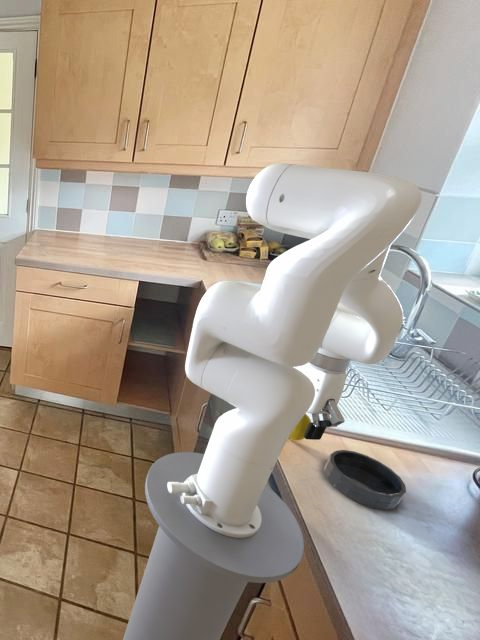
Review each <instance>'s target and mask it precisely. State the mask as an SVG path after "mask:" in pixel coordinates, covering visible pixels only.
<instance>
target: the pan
mask: <svg viewBox="0 0 480 640" xmlns="http://www.w3.org/2000/svg"><path fill="white" fill-rule="evenodd" d="M323 473H324V476H325V477H326V479H327V481H328V482H329V484H331V486H333V488H335V489H336V490H337V491H338V492H339V493H341V494H343V495H344V496H345V497H347V498H349V499H350V500H352V501H354V502H356V503H358V504H361V505H362V506H365V507H368V508H371V509H375V510H381V511H388V510H392V509H395V508H397V506H398V505H399V503H400V502H401V501H402V499H403V498H404V496H405V495H406V493H407V488H406V487H407V486H406V484H405V482H404V481H403V479H402V478H401V476H399V475H398V474H397V473H396V472H395V471H394V470H392V468H390V467H388V466H387V465H385V464H384V463H383V462H381V461H379V460H377V459H375V458H373V457H371V456H369V455H367V454H364V453H361V452H357V451H354V450H348V449H339V450H333V452H332V453H330V455H329V456H328V458H327V460H326V462H325V464H324V467H323Z"/></svg>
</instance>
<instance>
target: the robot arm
mask: <svg viewBox="0 0 480 640" xmlns="http://www.w3.org/2000/svg"><path fill="white" fill-rule="evenodd" d="M422 195H423V194H422V191H421V189H420V188H419V187H418V186H417V185H416V184H414V183H412V182H411V181H408V180H406V179H403V178H399V177H397V176H393V175H388V174H382V173H376V172H369V171H361V170H354V169H345V168H344V169H343V168H331V167H322V166H314V165H305V164H295V163H280V162H279V163H273V164H271V165H270V164H269V165H268V166H266V167H264V168H263V169H261V171H259V172H258V173H257V174H256V175H255V176H254V178H253V180H252V181H251V183H250V185H249V186H248V189H247V192H246V197H245V208H246V211H247V214H248V216H249V217H250V218H251V220H252V221H254V222H255V223H257V224H259V225H260V226H261V225H262V226H263V227H265V228H267V229H269V230H271V231H274V232H277V233H280V234H281V233H282V234H286V235H290V236H294V237H297V238H298V237H299V238H303V239H307V240H306V241H304V242H302V243H299V244H297V245H295V246H294V247H291V248H290V249H288V250H286V251H284V252H283V253H281V254H280V255H278V256H277V257H275V258H273V260H272V261H271V262H270V263H269V265H268V266H267V268H266V271H265V275H264V278H263V281H262V284H261V287H257V286H253V285H251V284H247V283H244V282H240V281H236V280H221V281H217V282H216V283H214V284H213V285H212V286H210V287H209V288H208V289H207V290H206V291H205V293H204V294H203V296H202V297H201V299H200V301H199V303H198V306H197V308H196V311H195V315H194V318H193V323H192V328H191V333H190V337H189V343H188V347H187V353H186V359H185V363H184V371H185V375H186V377H187V379H188V380H189V381H190V382H191V383H193V384H194V385H196V386H197V387H199V388H201V389H202V390H204V391H206V392H208V393H209V394H211V395H213V396H215V397H217V398H218V399H221V400H223V401H225V402H226V403H228V404H229V405H232V406H233V407H235V408H233V409H231V410H228V411H226V412H224V413H223V414H222V415H220V416H219V417H218V418H217V419H216V420H215V421H216V422H215V423H214V426H213V428H212V431H211V435H210V437H209V440H208V443H207V446H206V448H205V452H204V453H203V454H204V457H203V460H202V463H201V466H200V469H199V471H198V474H195V475H191V476H190V477H189V478H187V479H186V481H184V483H179V482H168V483H167V488H168V491H169V492H170V493H182V495H183V496H182V495H181V497H180V499H181V503H182V504H186V506H187V507H188V509H189V510H190V511H191V513H192V514H193V515H194V516H195V517H196V518H197V519H198V520H199V521H200V522H202V523H203V524H204V525H206V526H207V527H209V528H210V529H212V530H214V531H216V532H218V533H220V534H223V535H226V536H230V537H235V538H246V537H250V536H252V535H254V534H255V533H256V532H257V531H258V530H259V528H260V526H261V522H262V519H261V513H260V510H259V508H258V506H257V503H258V501H259V499H260V497H261V495H262V492H263V490H264V488H265V486H266V485H268V484H267V483H268V482H269V479H270V477H271V475H272V473H273V471H274V468H275V466H276V464H277V462H278V460H279V458H280V455H281V453H282V451H283V449H284V447H285V445H286V443H287V441H288V440H289V439H288V437H289V436H290V434H291V432H292V431H293V429H294V428H295V427H296V425H297V424H298V423H299V421H300V420H301V419H302V417H303V416H304V415H305V414H306V413H308V414H311V418H312V419H311V420H312V422H311V423H309V425H308V428H307V430H306V432H305V434H304V439H305V440H313V441H314V440H315V441H320V440H321V439H322V438H323V435H324V433H325V431H326V429H327V428H337V427H338V426H340V425H341V424H343V423H345V417H344V415H343V414H342V413H341V410H340V409H339V407H338V404H339V402H340V400H341V397H342V394H343V392H344V389H345V385H346V380H347V374H348V373H347V370H348V369H349V366H350V365H351V362H352V361H353V362H355V363H356V362H357V363H359V364H364V365H376V364H378V363H381V362H382V361H384V360H385V359H386V358H387V357H388V356H389V355H390V354H391V351H392V350H393V349H394V346H395V343H396V342H397V339H398V337H399V335H400V332H401V329H402V327H403V323H404V317H405V316H404V309H403V306H402V304H401V302H400V300H399V298H398V297H397V294H395V292H394V290H393V289H392V288H391V286H390V285H389V284H388V283H387V282H386V281H385V279H383V277H381V274H382V272H383V269H384V266H385V263H386V260H387V257H388V254H389V252H390V248H391V246H392V244H393V243H394V242H395V241H397V239H398V238H399V236H401V234H402V233H403V232H404V231H405V230H406V228H407V227H408V226H409V225H410V223H411V222H412V220H414V218H415V216H416V215H417V212H418V210H419V208H420V206H421V203H422V197H423V196H422ZM320 415H322V420H321V419H320Z"/></svg>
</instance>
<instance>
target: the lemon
mask: <svg viewBox="0 0 480 640" xmlns="http://www.w3.org/2000/svg"><path fill="white" fill-rule="evenodd" d="M311 420H312V419H311V418H310V416H309V415H308V414H306V413H305V415H304V416H303V417H302V419H301V420H300V421H299V423H298V424H297V425H296V427H295V428H294V429H293V431H292V432H291V434H290V436H289V437H288V439H287V440H290V441H291V440H292V441H301V440H304V439H305V438H304V434H305V432H306V430H307V428H308V425H309V423H312V421H311Z"/></svg>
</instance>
